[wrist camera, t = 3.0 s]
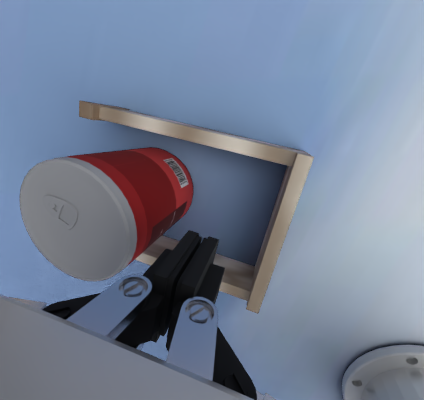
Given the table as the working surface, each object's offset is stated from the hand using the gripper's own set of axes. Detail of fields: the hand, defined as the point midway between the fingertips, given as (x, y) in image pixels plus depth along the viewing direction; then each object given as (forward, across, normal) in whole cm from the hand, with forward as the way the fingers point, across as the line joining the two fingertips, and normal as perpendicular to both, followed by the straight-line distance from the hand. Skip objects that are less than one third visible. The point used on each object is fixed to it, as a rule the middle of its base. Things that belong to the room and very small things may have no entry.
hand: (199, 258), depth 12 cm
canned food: (+11, +8, +1) cm, 13 cm away
